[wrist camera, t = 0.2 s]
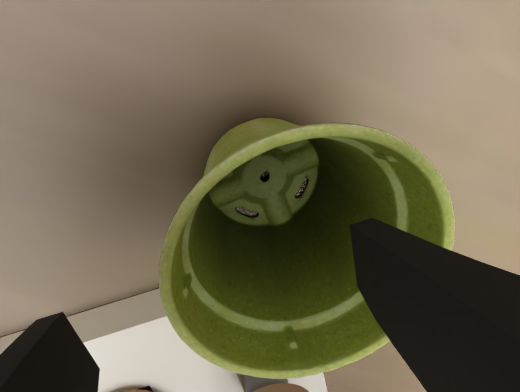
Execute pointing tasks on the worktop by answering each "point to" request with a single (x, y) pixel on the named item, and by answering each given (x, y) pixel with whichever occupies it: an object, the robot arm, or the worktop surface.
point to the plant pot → (291, 244)
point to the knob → (271, 385)
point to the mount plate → (151, 351)
